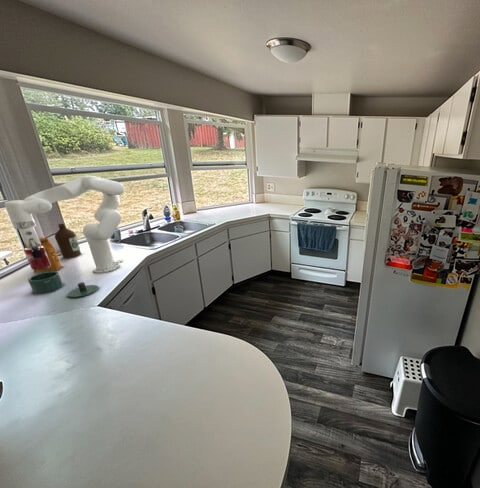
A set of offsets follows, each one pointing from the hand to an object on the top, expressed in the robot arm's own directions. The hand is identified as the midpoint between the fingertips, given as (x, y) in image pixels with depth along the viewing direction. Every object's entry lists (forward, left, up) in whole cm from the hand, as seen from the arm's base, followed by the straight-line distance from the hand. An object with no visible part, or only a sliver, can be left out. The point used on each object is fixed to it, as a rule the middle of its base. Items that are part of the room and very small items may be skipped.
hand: (36, 255), depth 135 cm
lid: (-10, +20, -20) cm, 30 cm away
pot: (+1, -1, -20) cm, 20 cm away
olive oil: (-19, -52, -21) cm, 59 cm away
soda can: (0, 0, -7) cm, 7 cm away
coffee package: (-4, -33, -21) cm, 39 cm away
